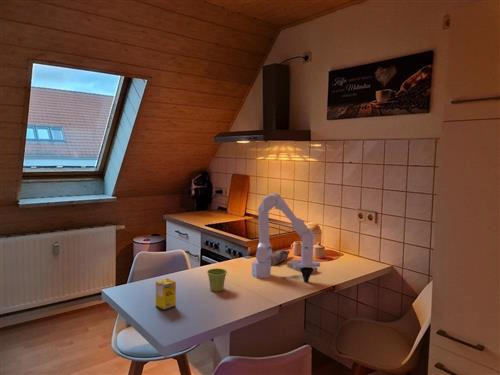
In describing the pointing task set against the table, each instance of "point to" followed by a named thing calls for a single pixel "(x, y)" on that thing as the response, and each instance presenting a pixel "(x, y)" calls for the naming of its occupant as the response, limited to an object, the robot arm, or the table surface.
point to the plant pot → (216, 279)
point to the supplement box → (165, 294)
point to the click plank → (294, 279)
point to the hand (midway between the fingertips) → (305, 281)
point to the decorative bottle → (279, 257)
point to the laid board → (292, 277)
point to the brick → (290, 265)
